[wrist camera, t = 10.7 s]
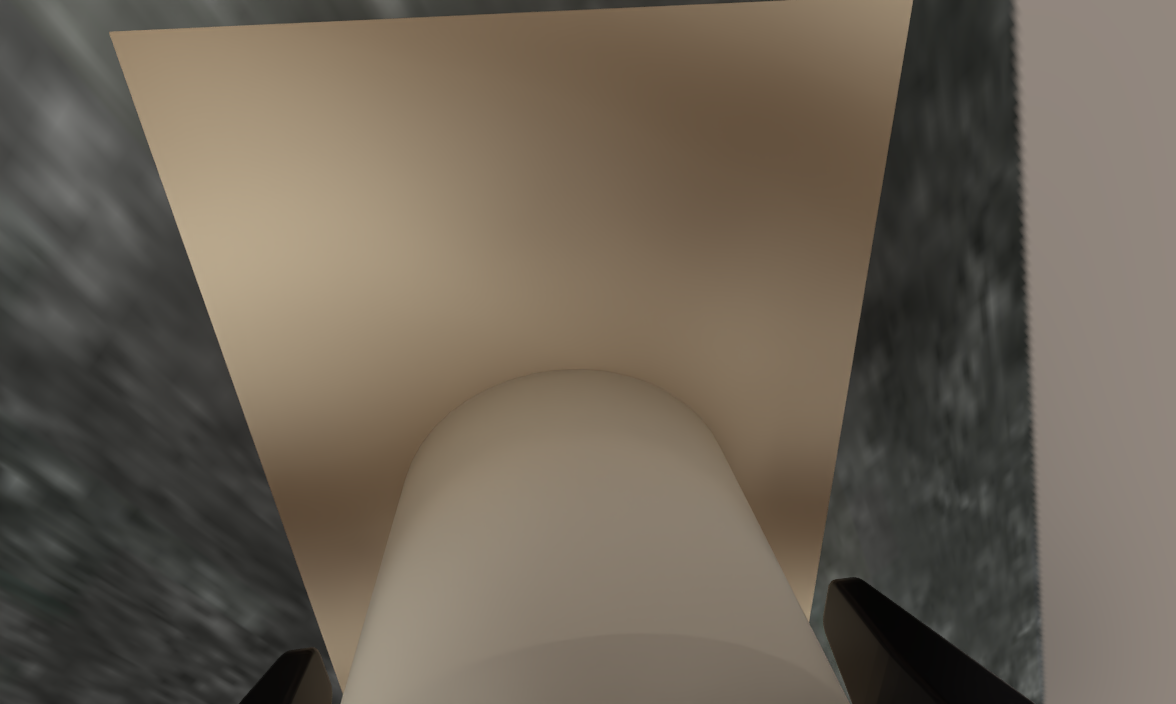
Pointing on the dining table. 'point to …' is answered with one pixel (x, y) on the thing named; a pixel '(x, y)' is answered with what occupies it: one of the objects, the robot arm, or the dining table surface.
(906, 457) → the dining table surface
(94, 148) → the dining table surface
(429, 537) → the beige tapered cylinder
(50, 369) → the dining table surface
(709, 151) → the box lid
